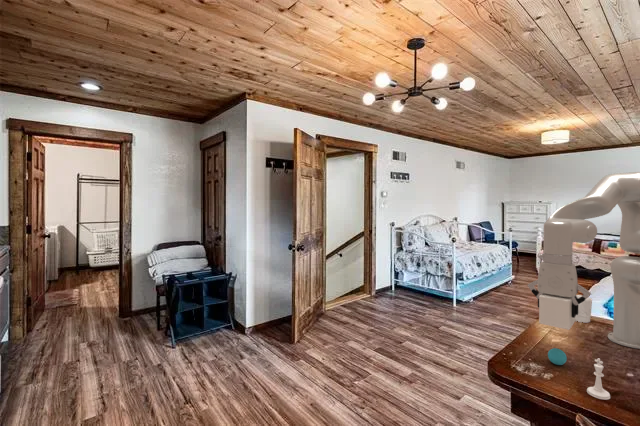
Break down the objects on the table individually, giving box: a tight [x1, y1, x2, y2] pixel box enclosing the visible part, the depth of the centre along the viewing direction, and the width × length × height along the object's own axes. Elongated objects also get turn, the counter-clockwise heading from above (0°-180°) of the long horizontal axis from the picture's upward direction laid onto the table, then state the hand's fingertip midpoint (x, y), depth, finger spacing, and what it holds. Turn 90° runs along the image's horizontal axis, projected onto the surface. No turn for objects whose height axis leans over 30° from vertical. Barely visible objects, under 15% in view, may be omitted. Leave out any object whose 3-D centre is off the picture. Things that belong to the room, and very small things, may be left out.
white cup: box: [575, 294, 593, 324], centre depth 144 cm, size 8×8×10 cm
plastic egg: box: [547, 347, 568, 366], centre depth 107 cm, size 5×5×5 cm
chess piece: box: [586, 358, 611, 401], centre depth 90 cm, size 5×5×10 cm
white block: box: [538, 294, 576, 331], centre depth 106 cm, size 10×8×9 cm
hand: (557, 312), depth 106 cm, fingers closed on white block, 7 cm apart
